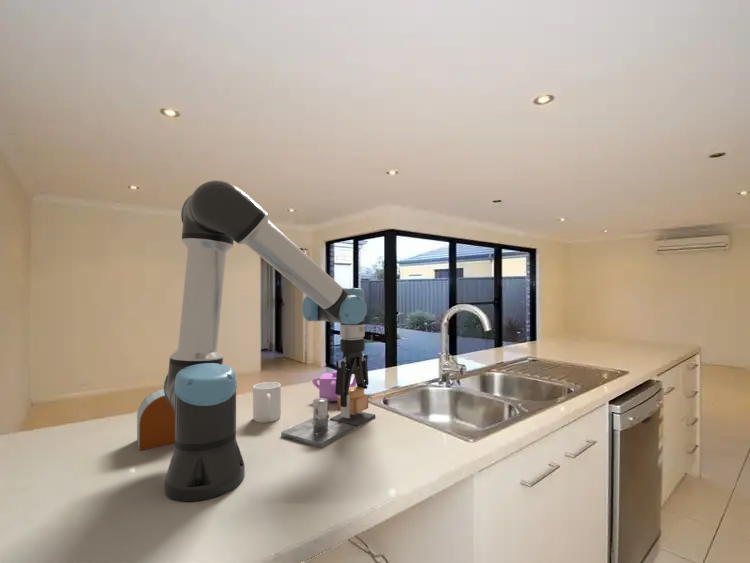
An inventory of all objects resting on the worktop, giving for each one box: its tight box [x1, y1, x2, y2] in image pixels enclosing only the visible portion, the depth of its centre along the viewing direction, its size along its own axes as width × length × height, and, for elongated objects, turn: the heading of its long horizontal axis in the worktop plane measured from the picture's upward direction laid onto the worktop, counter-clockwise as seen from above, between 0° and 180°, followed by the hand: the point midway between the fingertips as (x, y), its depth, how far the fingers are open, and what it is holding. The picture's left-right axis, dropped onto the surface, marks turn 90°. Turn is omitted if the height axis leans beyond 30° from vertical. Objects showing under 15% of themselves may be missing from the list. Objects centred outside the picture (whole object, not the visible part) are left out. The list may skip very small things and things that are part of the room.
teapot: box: [312, 370, 357, 404], centre depth 134 cm, size 18×14×10 cm
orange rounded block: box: [136, 387, 175, 451], centre depth 101 cm, size 15×8×14 cm, turn 126°
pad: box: [329, 411, 376, 428], centre depth 114 cm, size 10×10×1 cm
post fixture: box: [280, 398, 354, 449], centre depth 103 cm, size 14×14×9 cm
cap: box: [336, 386, 369, 414], centre depth 114 cm, size 7×7×6 cm
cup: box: [252, 381, 282, 424], centre depth 114 cm, size 8×12×10 cm
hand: (352, 413), depth 114 cm, fingers closed on cap, 7 cm apart
